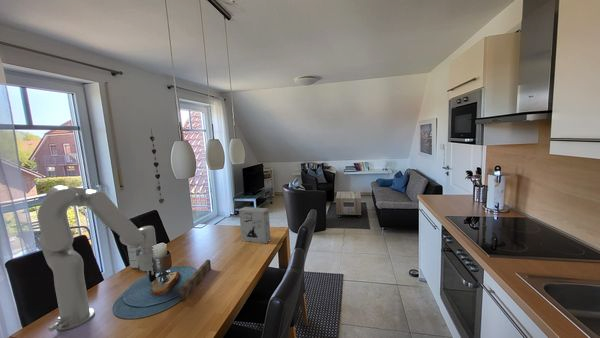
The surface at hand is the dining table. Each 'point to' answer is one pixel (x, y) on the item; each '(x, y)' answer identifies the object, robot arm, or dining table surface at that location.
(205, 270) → the walnut board
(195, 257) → the dining table surface
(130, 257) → the syrup box
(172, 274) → the bread slice
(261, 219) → the cereal box
